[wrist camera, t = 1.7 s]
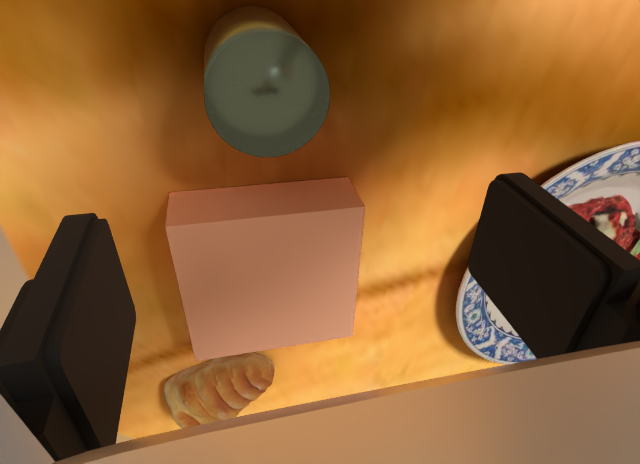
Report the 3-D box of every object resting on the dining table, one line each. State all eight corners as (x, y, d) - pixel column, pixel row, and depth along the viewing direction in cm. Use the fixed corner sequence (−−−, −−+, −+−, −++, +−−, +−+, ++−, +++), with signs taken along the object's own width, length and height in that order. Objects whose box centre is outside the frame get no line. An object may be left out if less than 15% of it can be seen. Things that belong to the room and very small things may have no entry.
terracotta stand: (347, 177, 30) (365, 206, 27) (339, 300, 37) (352, 336, 34) (169, 192, 28) (165, 226, 25) (196, 321, 35) (195, 361, 32)
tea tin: (301, 5, 23) (332, 30, 18) (302, 105, 27) (328, 152, 21) (197, 6, 22) (195, 33, 17) (210, 110, 25) (212, 161, 20)
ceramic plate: (450, 376, 48) (463, 400, 46) (438, 186, 33) (457, 206, 30) (661, 305, 49) (684, 324, 47) (747, 88, 34) (788, 100, 31)
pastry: (253, 332, 37) (257, 368, 34) (285, 371, 41) (292, 407, 38) (157, 376, 38) (154, 415, 35) (198, 410, 42) (198, 448, 39)
